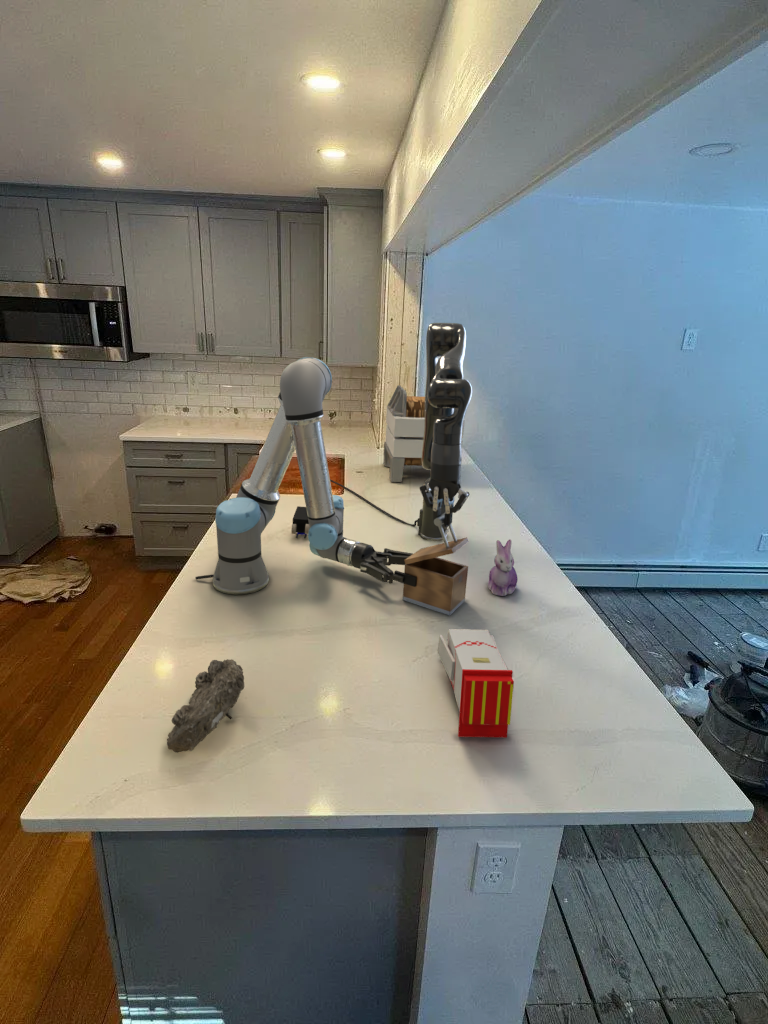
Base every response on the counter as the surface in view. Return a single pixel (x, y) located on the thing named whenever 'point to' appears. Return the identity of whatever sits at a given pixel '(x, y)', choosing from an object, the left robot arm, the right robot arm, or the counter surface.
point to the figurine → (503, 571)
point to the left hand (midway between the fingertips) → (425, 575)
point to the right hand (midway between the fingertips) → (442, 524)
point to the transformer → (404, 433)
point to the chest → (437, 584)
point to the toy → (478, 682)
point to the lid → (440, 548)
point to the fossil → (206, 705)
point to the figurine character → (300, 522)
